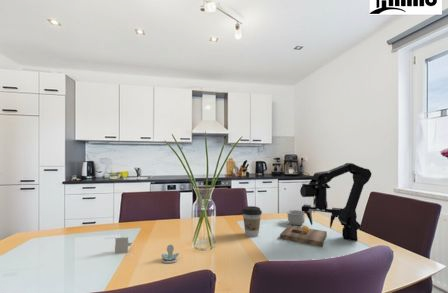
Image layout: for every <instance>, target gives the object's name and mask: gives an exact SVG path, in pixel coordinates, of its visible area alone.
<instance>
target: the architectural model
mask: <svg viewBox="0 0 448 293" xmlns="http://www.w3.org/2000/svg"><path fill="white" fill-rule="evenodd" d="M132 245H133V242H129V237H125V236H123V237H115V244H114V254H116V255H117V254H128V253H129V247H132Z"/></svg>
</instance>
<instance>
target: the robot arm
mask: <svg viewBox="0 0 448 293" xmlns="http://www.w3.org/2000/svg"><path fill="white" fill-rule="evenodd" d="M347 173H350V174H351V175H352V181H353V183H352V186H351V190H350V192H349V195H348V198H347V202H346V204H345V206H344V207H343V208H341V207H331V208H328V201H327V200H328V198H327V193H328V192H327V189H331V186H330V185H329V184H328V183H330V182H331V181H332V179H334V178H337V177H339V176H341V175H345V174H347ZM371 178H372V172H371V170H370V169H368V168H364V167H362V166H359V165H357V164H355V163H352V162H346V163H344V164H343V165H339V166H337V167H334V168H331V169H329V170H326V171H324V170H323V171H317V172H315V173H314V174H313V175H312V178H311V180H310V181H309V183H307V184H306V183H302V186H301V187H300V190H299V192H300V196H301V197H302V198H311V197H312V198H314V199H313V205H314V206H312V204H305V203H304V204H303V205H302V206H301V211H303V212H304V213H305V214H306V216H307V218H308V221H309V223H310V225H311V226H313V215H312V213H313V212H321V213H329V214H331V216H330V221H329V222H330V223H329V228H330V229H331V228H332V226H333V224H334V223H333V222H334V221H335V219H336V218H337V219H338V221H339V222H340V225H341V226H343V227H342V230H341V231H342V239H343V240H347V241H353V242H358V240H359V239H358V231H359V230H360V229H361V226H362V225H361V224H360V223H359V222H358V221H357V218H358V215H357V212H356V211H357V210H356V209H357V207H358V203H359V201H360V198H361V195H362V192H363V189H364V187H365V186H364V185H366V184H367V183H368V182H369V181H370V179H371ZM312 211H313V212H312Z"/></svg>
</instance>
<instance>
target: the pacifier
mask: <svg viewBox="0 0 448 293" xmlns="http://www.w3.org/2000/svg"><path fill="white" fill-rule="evenodd" d="M174 250H175V247H174V245H173V244H168V245H167V247H166V251H167V253H161V257H162V258H161V262H162V264H163V263H164V264H173V263H176V262H177V261H178V258H177V257H179V255H180V253H179V252H177V253H174Z"/></svg>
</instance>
